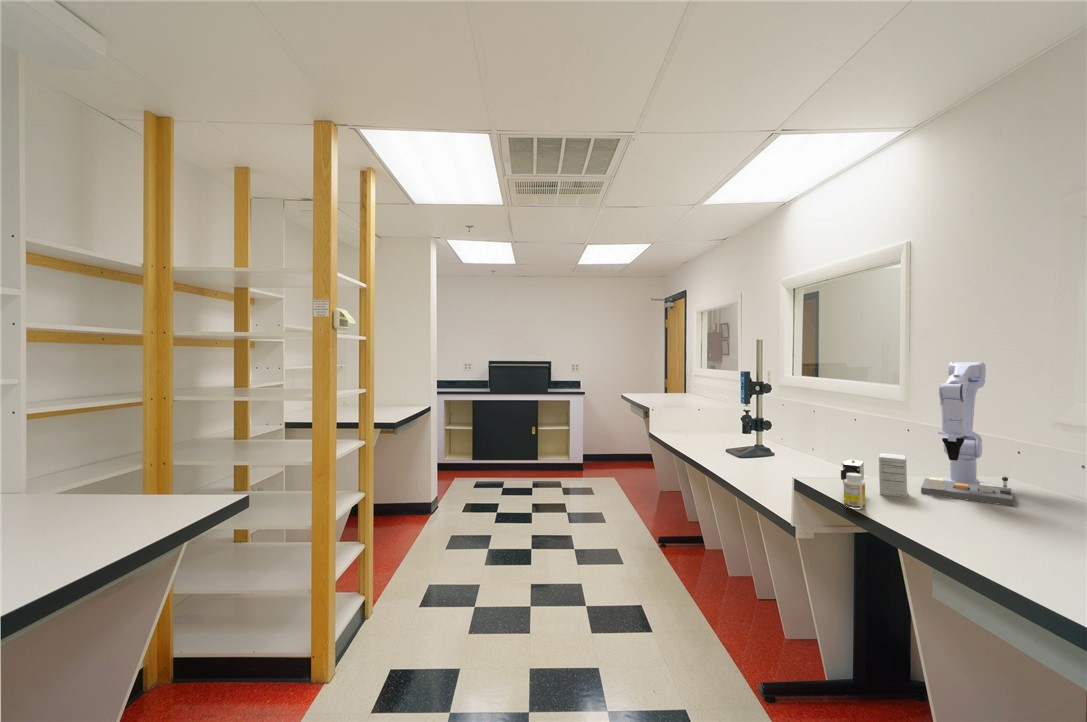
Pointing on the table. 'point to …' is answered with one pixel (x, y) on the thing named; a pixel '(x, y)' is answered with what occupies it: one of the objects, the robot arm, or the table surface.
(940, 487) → the block
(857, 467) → the pneumatic valve
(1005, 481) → the toggle lever
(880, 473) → the supplement box
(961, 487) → the orange button
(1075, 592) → the table surface
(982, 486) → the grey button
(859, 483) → the supplement bottle
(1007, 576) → the table surface
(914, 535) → the table surface
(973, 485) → the control panel
